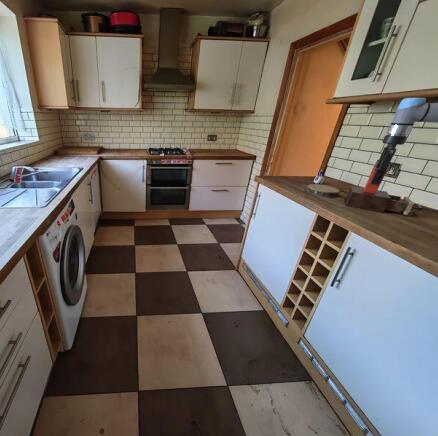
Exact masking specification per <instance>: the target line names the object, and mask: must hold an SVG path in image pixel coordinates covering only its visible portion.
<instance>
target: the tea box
mask: <svg viewBox="0 0 438 436" xmlns="http://www.w3.org/2000/svg"><path fill="white" fill-rule="evenodd" d="M375 170H378V168H376V167H372V170H371V173H370V175H369V177H368V179H367V181H366V182H365V183H366V184H365V186H364V187H363V188H364V192H369V193H375V194H376V192H377V190H379V188H380V186H381V184H382V182H383V180H384V178H385V176H386V174H387V171H388V169H387V170H386V171H385V172H384V173H383V176H382V178H381V180H380V182H379V184H378V185H375V184H371V182H372V180H373V177H374V175H375V173H376V171H375Z"/></svg>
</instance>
